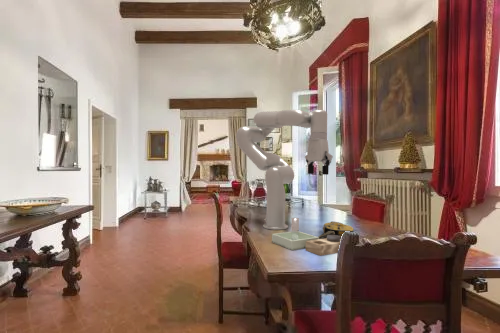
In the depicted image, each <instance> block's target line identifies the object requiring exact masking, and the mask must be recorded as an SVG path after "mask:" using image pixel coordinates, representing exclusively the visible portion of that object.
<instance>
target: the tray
mask: <svg viewBox="0 0 500 333" xmlns="http://www.w3.org/2000/svg"><path fill="white" fill-rule="evenodd" d="M317 239H319V237H318V236H315V235H312V234H309V233H306V232H302V231H299V240H293V241H292V240H291V231H284V232H277V233H271V243H272V244H275V245H278V246H280V247H283V248H286V249H288V250H289V251H297V250H303V249H306V241H310V240H317Z"/></svg>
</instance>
